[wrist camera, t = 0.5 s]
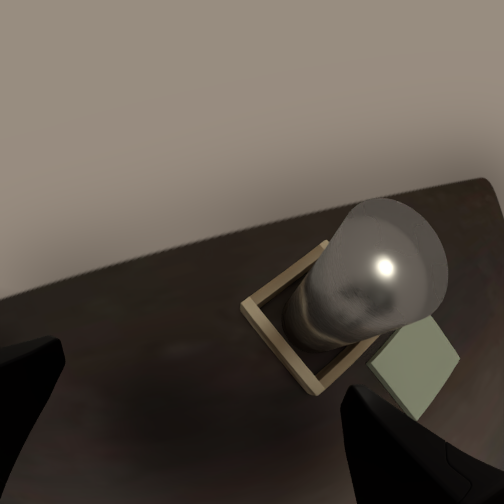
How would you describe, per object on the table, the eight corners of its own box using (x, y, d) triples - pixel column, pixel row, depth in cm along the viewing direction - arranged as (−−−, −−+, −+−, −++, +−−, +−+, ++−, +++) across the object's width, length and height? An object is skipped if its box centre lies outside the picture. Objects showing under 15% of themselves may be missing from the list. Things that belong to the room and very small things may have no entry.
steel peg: (357, 323, 22) (462, 266, 10) (310, 366, 20) (405, 352, 8) (317, 275, 23) (388, 180, 12) (267, 314, 22) (310, 239, 10)
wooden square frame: (379, 324, 22) (393, 318, 19) (307, 393, 19) (317, 396, 17) (317, 252, 24) (326, 239, 22) (239, 310, 22) (240, 302, 19)
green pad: (453, 359, 20) (460, 358, 19) (410, 419, 18) (416, 420, 17) (415, 305, 23) (421, 302, 22) (365, 363, 20) (371, 363, 19)
